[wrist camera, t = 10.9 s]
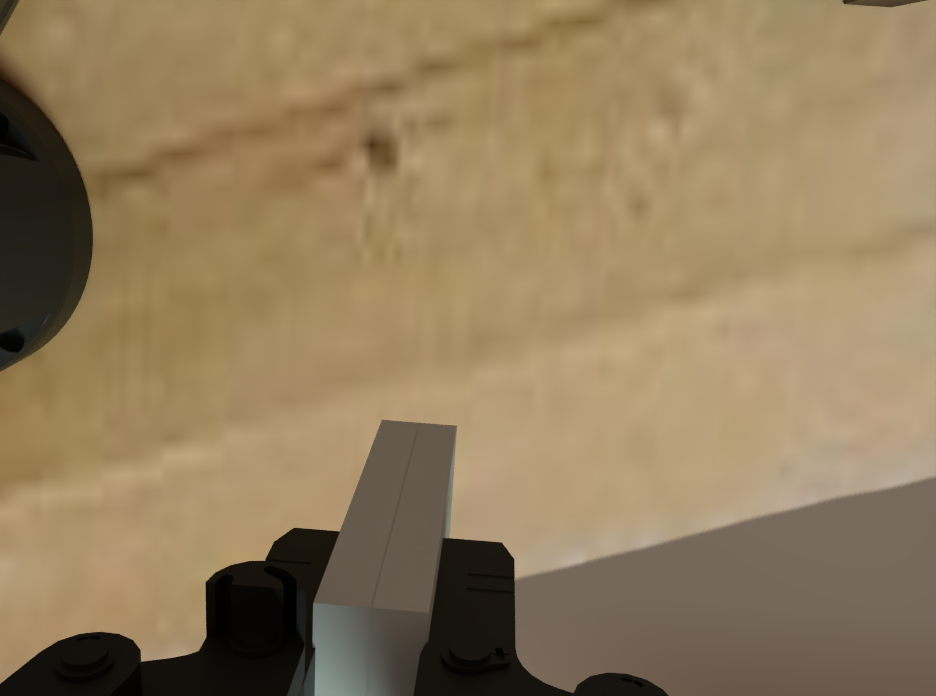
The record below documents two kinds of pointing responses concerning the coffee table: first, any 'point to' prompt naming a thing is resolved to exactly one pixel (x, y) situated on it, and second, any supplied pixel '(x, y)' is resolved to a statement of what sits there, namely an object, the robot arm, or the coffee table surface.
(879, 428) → the coffee table surface
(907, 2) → the wall
